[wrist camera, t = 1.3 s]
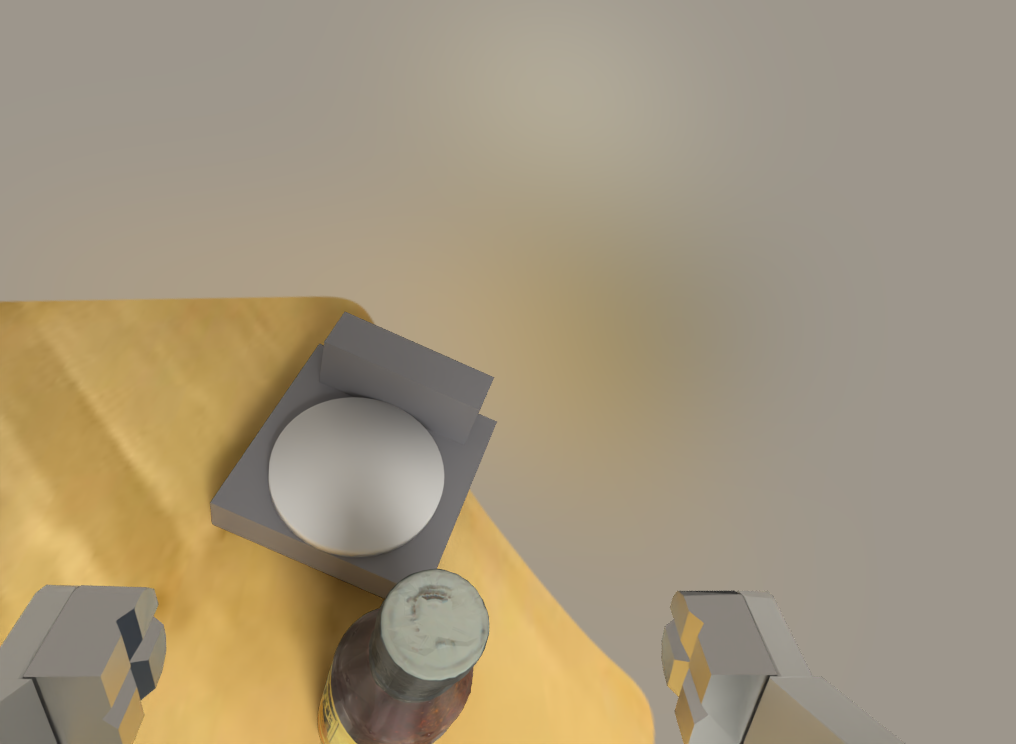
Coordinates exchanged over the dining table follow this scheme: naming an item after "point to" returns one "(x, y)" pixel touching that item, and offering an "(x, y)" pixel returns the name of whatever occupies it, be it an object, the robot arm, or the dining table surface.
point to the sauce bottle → (406, 664)
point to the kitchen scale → (362, 459)
